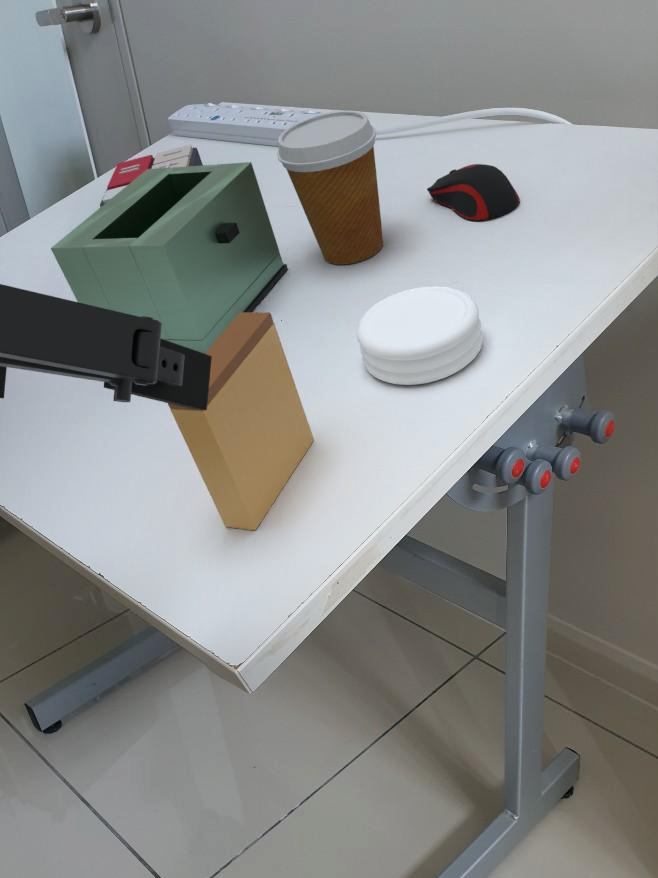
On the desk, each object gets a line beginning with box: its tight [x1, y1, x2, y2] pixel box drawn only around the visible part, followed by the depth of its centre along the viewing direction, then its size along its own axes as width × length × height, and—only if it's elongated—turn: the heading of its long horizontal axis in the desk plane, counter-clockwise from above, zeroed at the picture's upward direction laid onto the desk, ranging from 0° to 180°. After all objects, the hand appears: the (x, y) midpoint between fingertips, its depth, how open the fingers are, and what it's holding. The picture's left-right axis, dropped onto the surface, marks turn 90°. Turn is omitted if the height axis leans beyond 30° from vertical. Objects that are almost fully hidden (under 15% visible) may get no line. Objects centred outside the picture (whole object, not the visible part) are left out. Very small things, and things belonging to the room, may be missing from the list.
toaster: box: [50, 161, 289, 353], centre depth 82 cm, size 13×16×11 cm
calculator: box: [99, 144, 204, 208], centre depth 109 cm, size 11×4×15 cm
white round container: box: [355, 285, 484, 386], centre depth 71 cm, size 10×10×4 cm
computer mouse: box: [426, 163, 521, 222], centre depth 90 cm, size 6×11×4 cm, turn 32°
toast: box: [167, 311, 315, 531], centre depth 60 cm, size 2×10×11 cm, turn 160°
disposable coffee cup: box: [276, 110, 384, 266], centre depth 85 cm, size 10×10×12 cm
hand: (97, 378), depth 46 cm, fingers open, 13 cm apart
